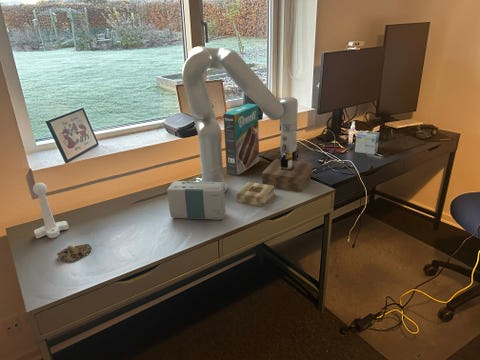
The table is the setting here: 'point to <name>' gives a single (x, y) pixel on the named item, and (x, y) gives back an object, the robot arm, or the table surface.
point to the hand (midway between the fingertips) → (287, 163)
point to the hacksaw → (326, 168)
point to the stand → (255, 194)
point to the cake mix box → (241, 138)
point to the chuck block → (287, 175)
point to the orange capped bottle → (289, 163)
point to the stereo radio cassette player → (197, 199)
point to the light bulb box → (367, 142)
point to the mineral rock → (74, 253)
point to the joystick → (47, 215)
